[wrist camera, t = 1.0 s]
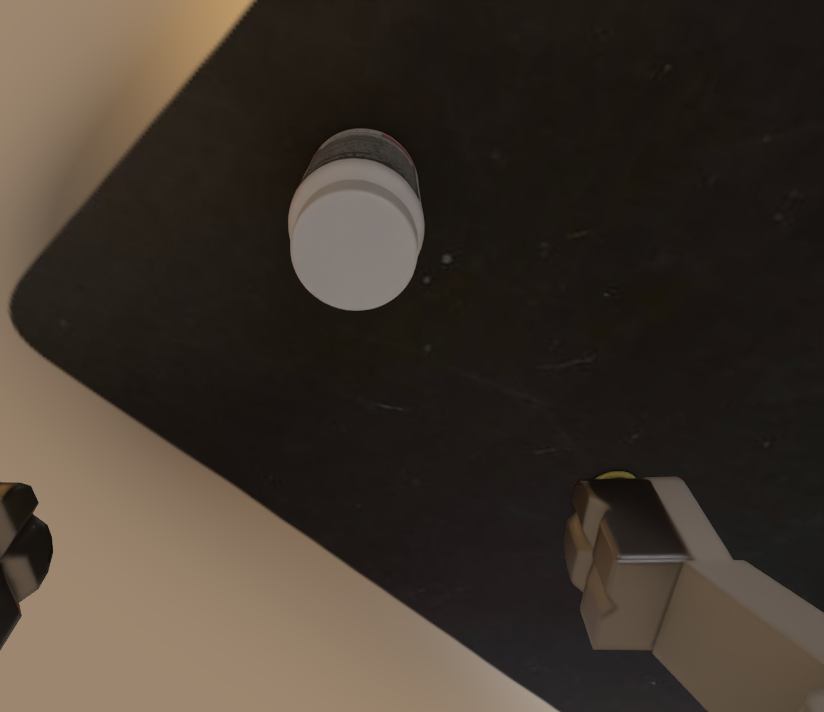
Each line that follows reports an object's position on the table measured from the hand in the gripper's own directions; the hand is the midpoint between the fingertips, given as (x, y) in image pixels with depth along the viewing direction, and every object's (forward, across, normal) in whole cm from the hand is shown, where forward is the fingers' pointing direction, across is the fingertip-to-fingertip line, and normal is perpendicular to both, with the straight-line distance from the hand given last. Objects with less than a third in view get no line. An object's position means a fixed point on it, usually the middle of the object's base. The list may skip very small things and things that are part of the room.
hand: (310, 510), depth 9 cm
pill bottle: (+20, 0, 0) cm, 20 cm away
